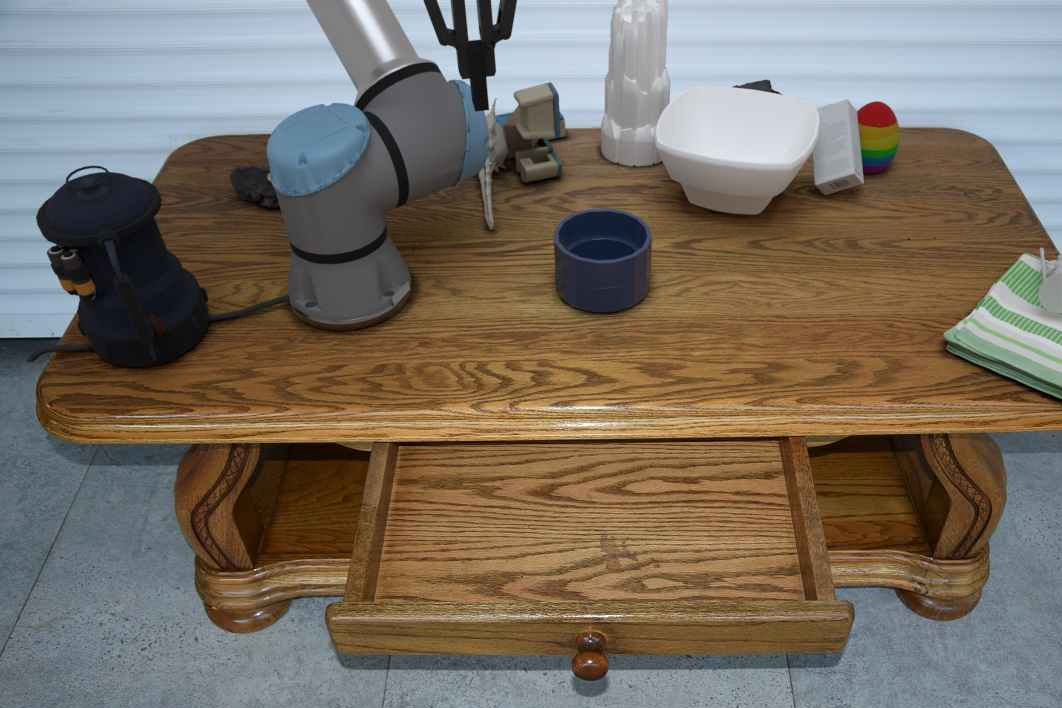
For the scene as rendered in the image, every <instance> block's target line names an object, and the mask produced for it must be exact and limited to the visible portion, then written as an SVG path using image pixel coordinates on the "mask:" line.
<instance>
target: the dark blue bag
mask: <svg viewBox="0 0 1062 708" xmlns="http://www.w3.org/2000/svg"><path fill="white" fill-rule="evenodd" d="M88 169H99V170H103V171H99V172H93V173H88V174H84V175H80V176H78V177H75V178H72V179H70V178H71V177H72V176H73V175H75V174H77V173H78V172H81V171H84V170H88ZM162 200H163V199H162V197H161V194H160V191H159V190H158V188H157V187H156V185H155V184H153V183H151V182H150V181H148V180H146V179H142V178H139V177H135V176H131V175H129V174H125V173H120V172H114V171H109V169H108V168H106V167H104V166H101V165H86V166H82V167H80V168H76V169H74V170H73V171H71V172H69V173H68V175H67V176H66V178H65V183H63V184H62V185H61V186H60V187H59V188H58V189H57V190H55V192H54V193H53V194H52V195H51V196H50V197H49V198H47V200H45V201H44V202H43V204H41V206H40V207H39V208H38V210H37V213H36V216H35V218H36V225H37V227H38V229H39V232H40V233H41V236H43V238H44V239H45V240H46V241H47V242H48V243H52V244H54V245H53V246H51V247H50V248H48V250H47V251H46V255H47V257H48V259H49V261H50V267H51V269H52V272H53V273H54V274H55V276H56V277H57V279H58V282H59V283H60V286H61V289H63V290H64V291H65V292H66V293H68V295H71V296H77V297H78V299H79V301H78V305H77V310H76V313H77V317H78V321H77V323H76V327H77V328H78V330H79V333H80V334H81V335H82V336H83V337H86V339H88V343H90V344H91V346H92V347H93V350H94V351H95V353H96V354H97V355H98V357H100V358H102V359H103V360H104V361H106V362H108V363H111V364H114V365H117V366H120V367H129V368H143V367H144V368H145V367H153V366H157V365H160V364H164V363H167V362H169V361H172V360H174V359H176V358H178V357H181V356H182V355H183V354H185V353H186V352H188V351H189V350H191V349H192V348H193V347H194V346H195V345H196V344H197V343H198V342H199V341H200V340H201V339H202V338H203V336H204V334H205V332H206V330H207V329H208V324H209V322H210V321H209V315H210V313H209V307H208V304H207V303H208V302H209V295H208V293H207V290H206V289H205V287H203V286H200V283H199V282H198V280H197V278H196V276H195V275H194V274H192V273H191V272H190V271H189V270H187V269H186V268H184V267H183V264H182V263H181V261H180V260H179V258H178V257H177V255H175V254H174V253H173V252H172V251H169V250H168V247H167V246H166V242H165V241H164V238H163V236H162V232H161V231H160V228H159V225H158V222H157V220H156V218H155V217H156V216H157V214H158V213H159V211H160V209H161V208H162V203H163V202H162Z"/></svg>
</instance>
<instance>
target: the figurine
mask: <svg viewBox="0 0 1062 708" xmlns="http://www.w3.org/2000/svg"><path fill="white" fill-rule="evenodd" d="M1039 255H1040V258H1041V265H1042V269H1041V270H1040V273H1041V274H1042V275H1043V282H1042V284H1041V285H1040V288H1039V291H1038V297H1039V301H1040V303H1041V304H1042V306H1043V307H1044V308H1046V309H1047V310H1049V311H1051V312H1054V313H1062V253H1060V254H1058V255H1057V257H1056V259H1052V260H1049V261H1050V262H1049V263H1048V264H1045V260H1046V258H1045V249H1044V247H1041V246H1040V247H1039ZM1045 266H1046V267H1045ZM1046 268H1047V271H1046ZM1054 270H1055V272H1054V274H1053V275H1051V276H1049V277H1048V278H1047V277H1046V275H1050V274H1051V272H1053V271H1054Z"/></svg>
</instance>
